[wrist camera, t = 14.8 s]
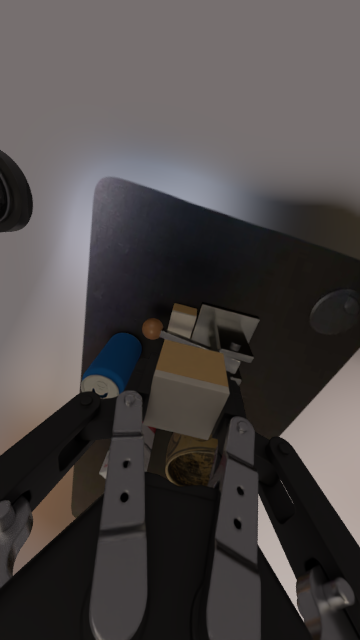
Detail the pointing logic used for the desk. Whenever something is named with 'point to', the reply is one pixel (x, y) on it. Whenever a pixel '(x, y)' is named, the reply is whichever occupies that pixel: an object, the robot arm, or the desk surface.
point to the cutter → (226, 332)
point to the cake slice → (187, 390)
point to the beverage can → (112, 366)
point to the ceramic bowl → (190, 459)
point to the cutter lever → (182, 341)
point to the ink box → (148, 442)
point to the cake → (182, 320)
